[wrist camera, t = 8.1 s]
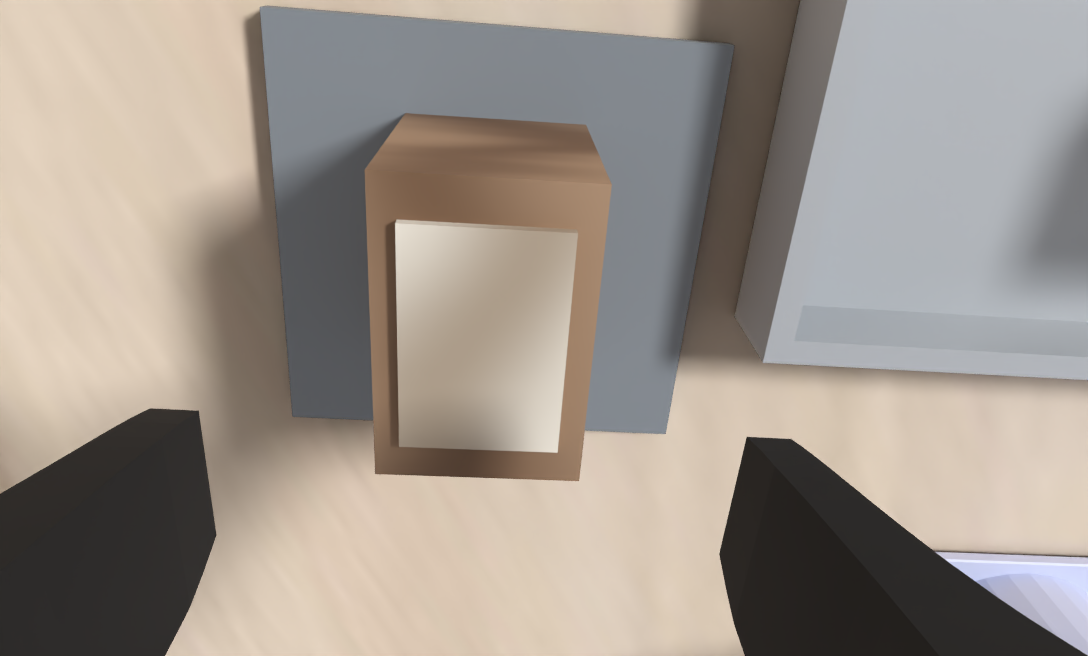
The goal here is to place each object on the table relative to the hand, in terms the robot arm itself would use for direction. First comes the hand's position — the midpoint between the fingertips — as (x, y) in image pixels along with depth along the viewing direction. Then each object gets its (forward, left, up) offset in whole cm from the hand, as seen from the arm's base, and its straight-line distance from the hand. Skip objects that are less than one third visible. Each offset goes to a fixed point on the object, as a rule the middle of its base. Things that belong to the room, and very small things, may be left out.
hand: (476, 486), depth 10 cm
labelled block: (0, 0, -9) cm, 9 cm away
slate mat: (0, 0, -9) cm, 9 cm away
